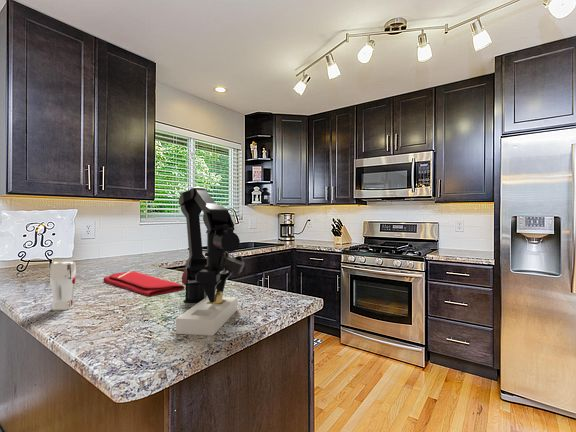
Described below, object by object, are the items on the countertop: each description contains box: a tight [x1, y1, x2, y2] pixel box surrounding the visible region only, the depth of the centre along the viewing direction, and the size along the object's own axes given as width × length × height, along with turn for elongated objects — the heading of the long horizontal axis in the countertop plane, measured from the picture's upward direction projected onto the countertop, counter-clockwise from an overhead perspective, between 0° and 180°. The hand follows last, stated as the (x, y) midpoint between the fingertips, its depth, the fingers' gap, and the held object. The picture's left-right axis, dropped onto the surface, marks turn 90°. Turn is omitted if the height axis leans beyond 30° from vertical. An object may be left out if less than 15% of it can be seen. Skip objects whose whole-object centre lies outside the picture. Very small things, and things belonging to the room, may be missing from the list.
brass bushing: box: [211, 290, 223, 304], centre depth 98 cm, size 4×4×7 cm
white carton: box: [49, 260, 77, 312], centre depth 103 cm, size 7×7×15 cm
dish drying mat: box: [103, 270, 185, 297], centre depth 137 cm, size 16×41×4 cm, turn 52°
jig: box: [175, 296, 238, 337], centre depth 92 cm, size 10×22×4 cm, turn 173°
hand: (216, 299), depth 98 cm, fingers open, 7 cm apart
